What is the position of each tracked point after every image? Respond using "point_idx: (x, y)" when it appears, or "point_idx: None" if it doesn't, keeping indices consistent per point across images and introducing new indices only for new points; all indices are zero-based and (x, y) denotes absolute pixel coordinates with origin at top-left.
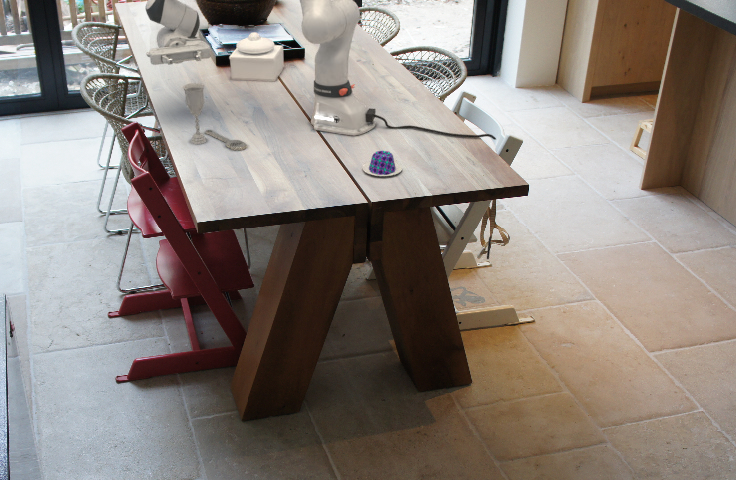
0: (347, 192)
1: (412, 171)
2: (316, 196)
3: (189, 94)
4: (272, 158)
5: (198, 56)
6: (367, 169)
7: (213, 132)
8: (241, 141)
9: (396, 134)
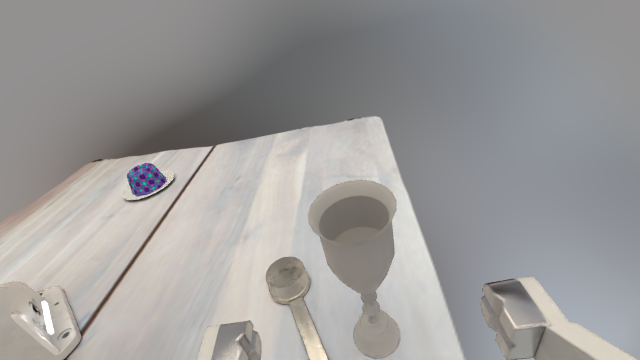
0: (221, 153)
1: (128, 184)
2: (254, 147)
3: (373, 199)
4: (248, 224)
5: (229, 325)
6: (164, 185)
7: None
8: (270, 287)
9: None
